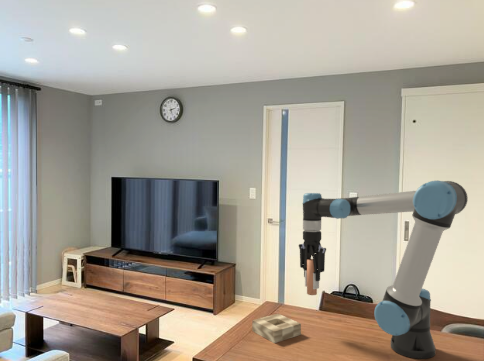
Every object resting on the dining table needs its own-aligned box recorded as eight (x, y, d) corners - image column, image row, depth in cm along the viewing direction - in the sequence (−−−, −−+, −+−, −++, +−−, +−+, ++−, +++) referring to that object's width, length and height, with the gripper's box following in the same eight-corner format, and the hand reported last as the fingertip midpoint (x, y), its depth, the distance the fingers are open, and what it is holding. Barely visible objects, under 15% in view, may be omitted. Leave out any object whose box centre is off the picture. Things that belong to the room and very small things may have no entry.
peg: (318, 294, 156) (319, 260, 156) (312, 295, 154) (312, 261, 154) (311, 291, 160) (311, 258, 160) (304, 293, 157) (305, 259, 157)
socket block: (300, 334, 154) (300, 323, 154) (274, 343, 146) (274, 331, 145) (278, 323, 165) (278, 313, 165) (252, 331, 157) (252, 320, 157)
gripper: (334, 232, 152) (334, 290, 152) (303, 227, 166) (303, 281, 166) (321, 233, 148) (321, 293, 148) (291, 228, 162) (291, 284, 162)
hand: (311, 287), depth 157 cm, fingers closed on peg, 4 cm apart
